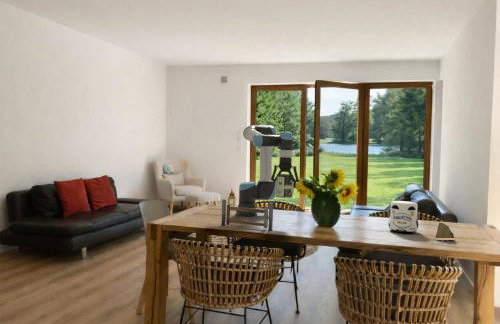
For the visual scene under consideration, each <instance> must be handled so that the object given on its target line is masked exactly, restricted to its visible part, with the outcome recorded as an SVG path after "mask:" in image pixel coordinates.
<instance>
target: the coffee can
mask: <svg viewBox="0 0 500 324" xmlns="http://www.w3.org/2000/svg"><path fill="white" fill-rule="evenodd" d="M276 176H277V181H276V182H277V186H276V195H275V198H278V199H292V198H293V194H292V183H293V180H292V176H294V174H293V175H289V173H281V174H280V175H278V173H277V174H276Z"/></svg>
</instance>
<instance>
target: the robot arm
mask: <svg viewBox="0 0 500 324" xmlns="http://www.w3.org/2000/svg"><path fill="white" fill-rule="evenodd" d="M242 135H243V137H244V139H245V140H246V141H251V142H252V145H253V147H259V179H258V181H257V183H256V181H245V182H240V184H239V187H238V205H237V207H241V208H253V209H257V206H256V201H269V200H270V201H271V200H274V199H275V198H276V186H277V174H278V175H280V174H283V173H287V174H289V175H293V176H292V180H293V183H292V195H294V194H295V189H296V187H297V183H298V182H300V179H299V175H298V171H297V166H296V165H293V164H292V163H293V162H292V161H293V158H292V156H293V132H291V131H281V132H280V135H279V134H277V131H276V128H275V126H273V125H268V124H265V125H264V124H262V125H261V124H251V125H248V126H246V127H245V128H244V130H243V131H242ZM273 148H279V163H278V164H275V165H274V166H273V163H272V162H273V161H272V160H273V158H272V154H273V153H272V149H273ZM272 166H273V168H272ZM278 169H279V171H278V173H277V170H278ZM272 170H273V172H272ZM291 170H293V172H292V171H291ZM276 173H277V174H276ZM235 215H237V216H239V217H240V216H241V217H255V216H258V213H256V212H244V211H235Z"/></svg>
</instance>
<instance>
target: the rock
mask: <svg viewBox="0 0 500 324" xmlns="http://www.w3.org/2000/svg"><path fill="white" fill-rule="evenodd" d="M436 229H437V230H436V234H435V238H455V236H454V235H455V234H454V233H453V232H452V231H451V228H450V227H449V226H448V225H447V224H445V223H444V222H439V223H438V226H437V228H436Z"/></svg>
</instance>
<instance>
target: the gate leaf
mask: <svg viewBox="0 0 500 324" xmlns="http://www.w3.org/2000/svg"><path fill="white" fill-rule="evenodd" d="M231 211H235V212H236V211H244V212H256V213H257V214H258V213H259V214H263V222H258V221H257V222H256V221H245V220H236V219H231ZM231 224H237V225H246V226H247V225H249V226H257V227H263V229H268V225H269V207H264V208H256V209H253V208H241V207H238V206H231V205H230V204H226V219H225V226H226V225H227V226H230V225H231Z"/></svg>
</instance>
